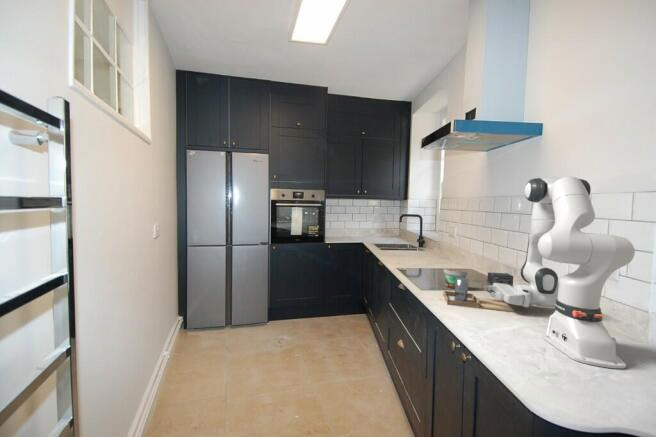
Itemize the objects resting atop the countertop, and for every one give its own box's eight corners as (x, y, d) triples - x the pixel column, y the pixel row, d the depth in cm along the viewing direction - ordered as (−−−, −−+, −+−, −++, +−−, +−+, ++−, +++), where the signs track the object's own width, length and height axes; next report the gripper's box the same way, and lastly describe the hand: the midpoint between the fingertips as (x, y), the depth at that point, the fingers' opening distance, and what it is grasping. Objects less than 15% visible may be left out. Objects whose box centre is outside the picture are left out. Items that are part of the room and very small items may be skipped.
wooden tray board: (515, 312, 126) (515, 307, 125) (447, 304, 133) (447, 300, 132) (504, 301, 139) (504, 297, 139) (443, 294, 146) (443, 290, 146)
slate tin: (468, 304, 134) (469, 281, 133) (455, 302, 136) (457, 280, 135) (465, 300, 140) (467, 278, 139) (453, 298, 141) (454, 277, 140)
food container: (443, 288, 157) (444, 270, 156) (442, 285, 163) (443, 268, 162) (467, 291, 153) (469, 273, 152) (466, 288, 159) (467, 270, 158)
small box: (506, 291, 155) (507, 272, 154) (512, 295, 148) (514, 276, 148) (485, 290, 156) (487, 271, 155) (491, 294, 150) (493, 274, 149)
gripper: (513, 281, 141) (482, 278, 144) (531, 294, 121) (495, 290, 124) (512, 293, 141) (481, 290, 145) (529, 309, 121) (494, 304, 125)
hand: (487, 290), depth 134 cm, fingers open, 8 cm apart
